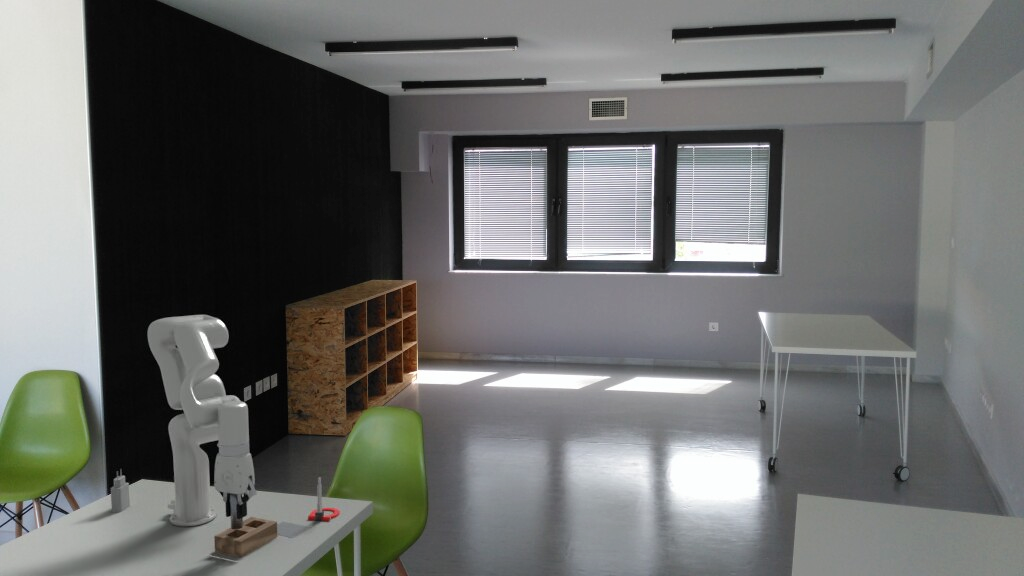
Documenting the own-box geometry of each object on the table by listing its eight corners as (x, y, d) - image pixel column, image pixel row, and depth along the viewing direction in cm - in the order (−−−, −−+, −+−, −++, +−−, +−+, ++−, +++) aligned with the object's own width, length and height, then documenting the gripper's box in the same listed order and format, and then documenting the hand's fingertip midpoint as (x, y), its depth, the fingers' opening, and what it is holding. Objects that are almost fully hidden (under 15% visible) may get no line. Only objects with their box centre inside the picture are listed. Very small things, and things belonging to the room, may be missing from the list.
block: (214, 552, 207) (214, 535, 206) (251, 532, 220) (251, 516, 219) (241, 558, 203) (241, 541, 203) (277, 537, 216) (276, 521, 216)
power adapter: (110, 511, 234) (108, 473, 233) (121, 505, 240) (119, 467, 238) (120, 512, 234) (118, 473, 233) (130, 505, 239) (129, 467, 238)
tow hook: (317, 510, 237) (304, 521, 228) (317, 468, 236) (304, 477, 227) (343, 512, 236) (332, 523, 227) (344, 470, 235) (332, 479, 226)
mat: (264, 532, 219) (264, 531, 219) (282, 522, 227) (282, 521, 227) (292, 538, 215) (292, 537, 215) (311, 528, 223) (311, 527, 223)
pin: (226, 528, 207) (224, 489, 206) (236, 523, 210) (235, 484, 209) (237, 531, 205) (236, 491, 204) (247, 525, 209) (246, 486, 208)
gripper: (199, 449, 205) (202, 516, 207) (248, 456, 199) (251, 526, 201) (220, 441, 212) (223, 506, 214) (268, 448, 206) (270, 515, 208)
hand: (236, 515), depth 207 cm, fingers closed on pin, 3 cm apart
